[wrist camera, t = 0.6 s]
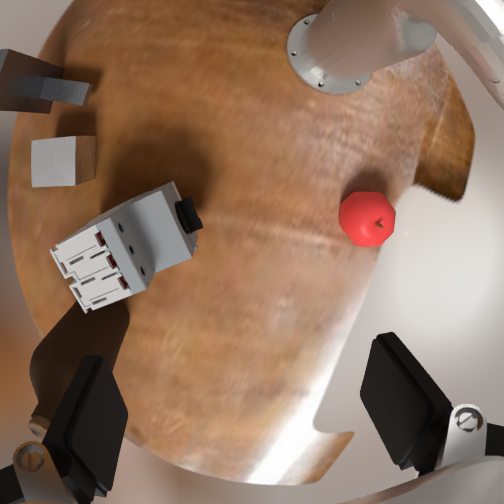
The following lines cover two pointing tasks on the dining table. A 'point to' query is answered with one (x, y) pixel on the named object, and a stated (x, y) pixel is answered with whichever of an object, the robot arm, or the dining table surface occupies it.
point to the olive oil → (72, 354)
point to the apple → (367, 218)
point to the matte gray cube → (63, 161)
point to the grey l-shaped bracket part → (36, 84)
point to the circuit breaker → (128, 246)
